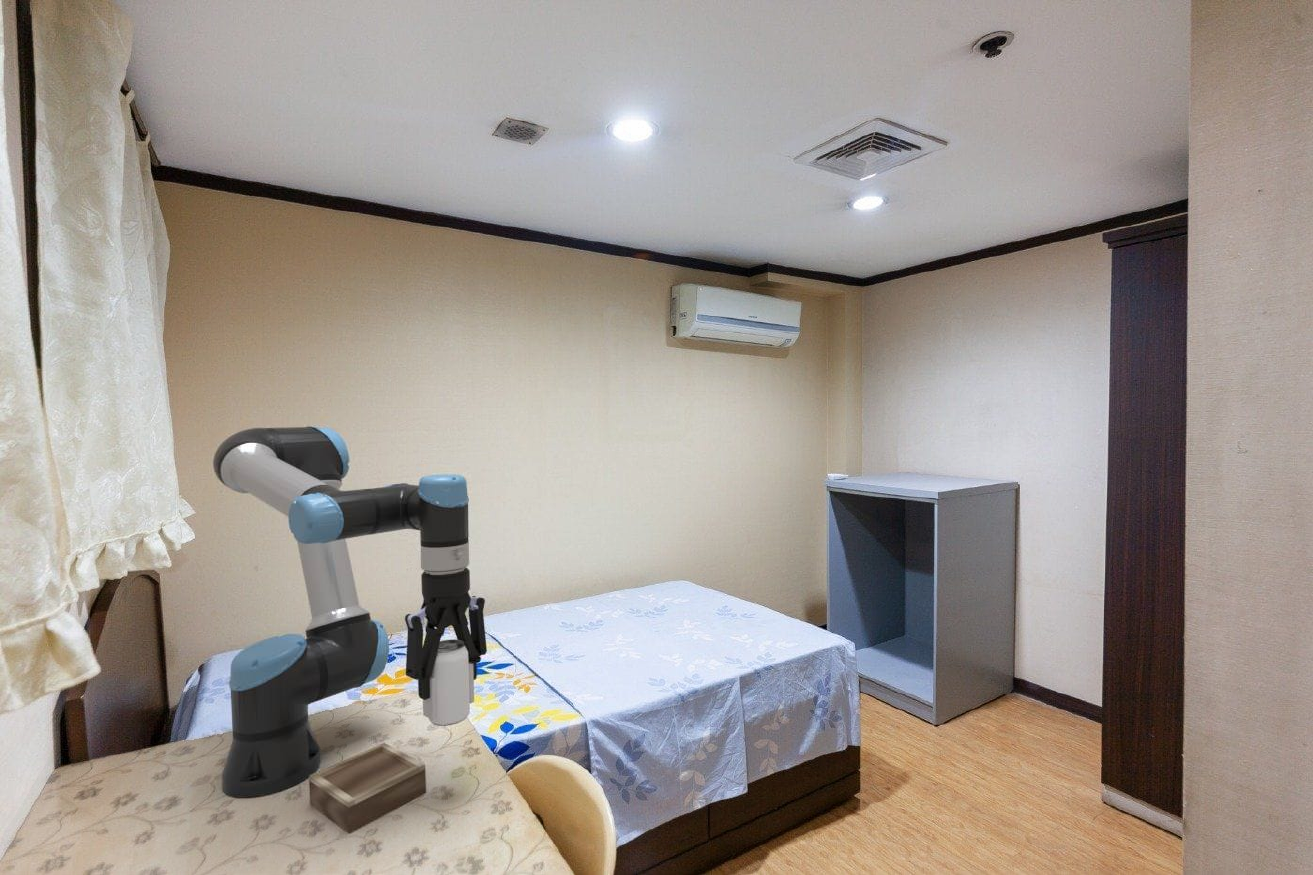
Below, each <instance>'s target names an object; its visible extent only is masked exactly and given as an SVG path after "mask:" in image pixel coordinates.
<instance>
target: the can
mask: <svg viewBox="0 0 1313 875" xmlns="http://www.w3.org/2000/svg"><path fill="white" fill-rule="evenodd" d="M431 676H432V677H435V678H436V694H437V718H436V719H434V720H432V719H430V718H428V720H429V722H430V723H431V724H433V725H434V726H438V727H439V726H440V727H446V726H447V727H448V726H452V725H456V724H459V723H462V722H463V721H465V720H466V719H467V718H468V716H469V715H470V710H471V706H470V699H469V662H468V651H467V649H466V647H465V642H464V641H462V640H457V639H445V640H440V643H439V647H438V651H437V655H436V659H435V663H434V667H433V671H432V675H431Z"/></svg>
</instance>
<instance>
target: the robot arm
mask: <svg viewBox="0 0 1313 875" xmlns="http://www.w3.org/2000/svg"><path fill="white" fill-rule="evenodd" d="M349 463H350V454H349V450H348V447H347V445H346V442H345V441H344V439H343V438H342V436H341V434H339V432H337V431H335V429H332V428H330V427H321V426H319V427H318V426H312V425H311V426H310V425H308V426H305V427H304V426H300V427H299V426H298V427H297V426H295V427H253V428H249V429H244V430H241V431H238V432H236V433H235V434H232V435H230V436H229V437H227V438H226V439H224V441H223V442H222V443H221V444H220V445H219V446H218V447H217V449H216V451H215V452H214V456H213V459H212V464H213V470H214V473H215V476H216V477H217V479H218V480H219V481H220V482H221V483H222V484H223V485H224V486H226V487H227V488H229V489H230V490H232V491H234V492H237V493H240V494H251V495H252V496H253V497H255V498H256V499H258V500H260V501H261V502H263V503H265V504H266V505H268V506H269V507H271V508H273V509H274V510H276V511H278V512H279V513H282V514H283V515H284V516H286V517H287V518H288V526H289V527H288V528H289V530H290V532H291V534H293V538H294V540H296V542H297V547H298V548H297V549H298V552H299V558H300V559H299V560H300V564H301V568H302V574H303V579H304V583H305V588H306V594H307V598H308V599H307V600H308V603H309V609H310V614H311V620H310V622H309V624H308V625H307V626H306V627H305V636H306V638H305V636H303V634H299V633H297V634H296V633H286V634H282V635H281V636H278V635H276V636H272V637H269V638H266V639H262V640H260V641H258V642H255V643H252V644H251V645H249V646H246V647H245V648H244V649H242V650H241V651H239V652H238V654H236V655H235V656H234V657H233V659H232V661H231V663H230V680H229V682H228V685H229V686H228V687H229V689H230V706H231V727H232V728H231V729H232V741H231V744H230V748H229V751H228V754H227V756H226V757H227V758H226V760H225V763H224V767H223V770H222V774H221V781H222V782H221V783H222V785H221V786H222V787H221V788H222V791H223V792H224V793H225V794H226V795H228V796H231V797H236V798H251V797H259V796H266V795H269V794H273V793H274V794H275V793H277V792H281V791H284V790H285V789H288V788H290V787H294V786H296V785H298V784H299V783H301V782H303V781H305V780H306V779H307V778H308V779H309V775H311V774H314V773H316V772H317V770H318V769H319V768H320V766H321V762H322V758H321V757H322V756H321V748H320V745H319V743H318V741H317V738H316V736H315V734H314V732H313V729H312V727H311V724H310V722H309V705H310V704H314V703H316V702H319V701H321V700H324V699H328V698H330V697H332V696H333V697H334V696H337V695H338V694H341V693H344V692H348V691H350V690H352V689H357V688H361V687H362V686H364V685H365V684H367V683H368V684H369V683H370V682H372V681H375V680H377V679H378V678H379V677H380V676H381V675H382V674H383V672H384V671H385V669H386V665H387V664H388V659H389V655H390V654H389V653H390V643H389V642H390V641H389V636H388V633H387V630H386V628H384V625H383V623H381V621H378V620H375V619H371V613H370V611H369V610H367V609H365V608H363V607H362V606H361V605H360V602H359V597H358V592H357V587H356V582H355V577H354V573H353V568H352V564H351V558H350V553H349V549H348V544H347V539H352V538H359V537H364V536H369V535H376V534H378V535H379V534H383V533H391V532H395V531H401V530H413V531H414V530H415V531H419V534H420V535H419V536H420V538H419V540H420V569H421V570H423V572H422V573H421V580H420V581H421V595H422V597H423V602H422V604H421V608H420V610H418V611H416V612H414V613H407V614H406V615H405V616H404V621H405V624H406V628H407V635H406V636H407V640H406V641H407V643H406V657H405V658H406V660H405V676H406V677H409V678H411V679H413V680H416V681H417V688H418V689H417V692H418V694H417V695H418V698H419V699H421V700H422V711H423V712H422V713H423V715H422V716H423V717H426V718H427V719H429V718H430V719H432V720H434V719H436V718H437V694H436V678H435V677H432V676H431V675H432V671H433V667H434V663H435V659H436V655H437V651H438V647H439V643H440V641H441V639H442V636H443V635H444V634H445V631H446V629H447V628H449V627H452V628H453V631H454V634H455V636H456V640H462V641H464V642H465V647H466V649H467V651H468V662H469V699H470V704H473V703H474V702H475V685H474V684H475V682H474V681H475V680H477V677H478V673H477V672H478V670H477V668H478V666H477V664H479V663H480V662H481V660H482V656H485V655H486V654H487V652H488V651H487V650H488V649H487V648H488V647H487V640H486V638H487V637H486V631H485V630H486V626H485V620H484V617H485V616H484V608H485V603H486V599H485V598H484V597H481V596H480V597H479V596H477V595H472V596H471V595H470V593H469V591H470V590H471V581H470V580H471V577H470V569H469V568H468V566H469V565H470V543H469V537H470V536H469V501H470V500H469V499H470V498H469V496H468V494H469V493H468V487H467V486H468V484H467V479H466V478H465V476H464V475H461V474H455V473H453V474H430V475H424V476H422V477H421V478H420V479H419V481H418V484H417V485H415V484H409V483H406V482H405V483H404V482H402V483H391V484H388V485H385V486H382V487H373V488H363V489H362V488H361V489H351V490H350V489H349V490H341V489H340V488H341V487H342V486H343V482H342V479H344V478H345V477H346V476H348V475H347V474H348V473H349V470H350V465H349ZM467 610H468V618H467V616H466V612H467ZM425 619H426V620H427V622H425ZM468 619H469V620H468ZM468 621H469V622H468ZM425 623H426V626H425V629H424V625H425ZM424 630H425V637H424Z"/></svg>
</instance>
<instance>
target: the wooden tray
mask: <svg viewBox="0 0 1313 875" xmlns="http://www.w3.org/2000/svg"><path fill="white" fill-rule="evenodd" d="M426 772H427V771H426V764H425V763H423V762H421V761H419V760H418V759H416V758H414V757H412V756H410V755H409V754H406V753H405V752H403V751H401V750H399V749H397V748H395V747H393V746H392V745H389V744H387V743H385V742H382V743H379V744H378V745H375V746H373V747H371V748H369V749H366V750H364V751H362V752H360V753H358V754H354V755H352V756H350V757H348V758H346V759H343V760H341V761H339V762H336V763H334V764H332V765H330V766H328V767H325V768H322V769H320V770H318V771H315V772H314V773H313V774H311V775H309V777H308V781H309V782H308V785H309V805H311V806H312V807H313V808H314V809H316V810H317V811H319V812H320V813H321V814H322V815H324V816H325V817H326V818H328V820H331V821H332V822H333V823H335V824H336V825H337V826H339V828H341V829H343V830H344V831H345V832H347V833H348V834H352V833H354V832H355V831H357V830H359V829H361V828H363V827H365V826H366V825H368V824H370V823H372V822H374V821H376V820H379V819H381V817H383V816H385V815H387V814H389V813H391V812H392V811H395V810H396V809H399V808H400V807H402V806H403V805H406V804H408V803H410V802H412V801H413V800H415V799H417V798H419V797H420V796H423V795H425V794H427V778H426V776H427V775H426Z"/></svg>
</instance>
